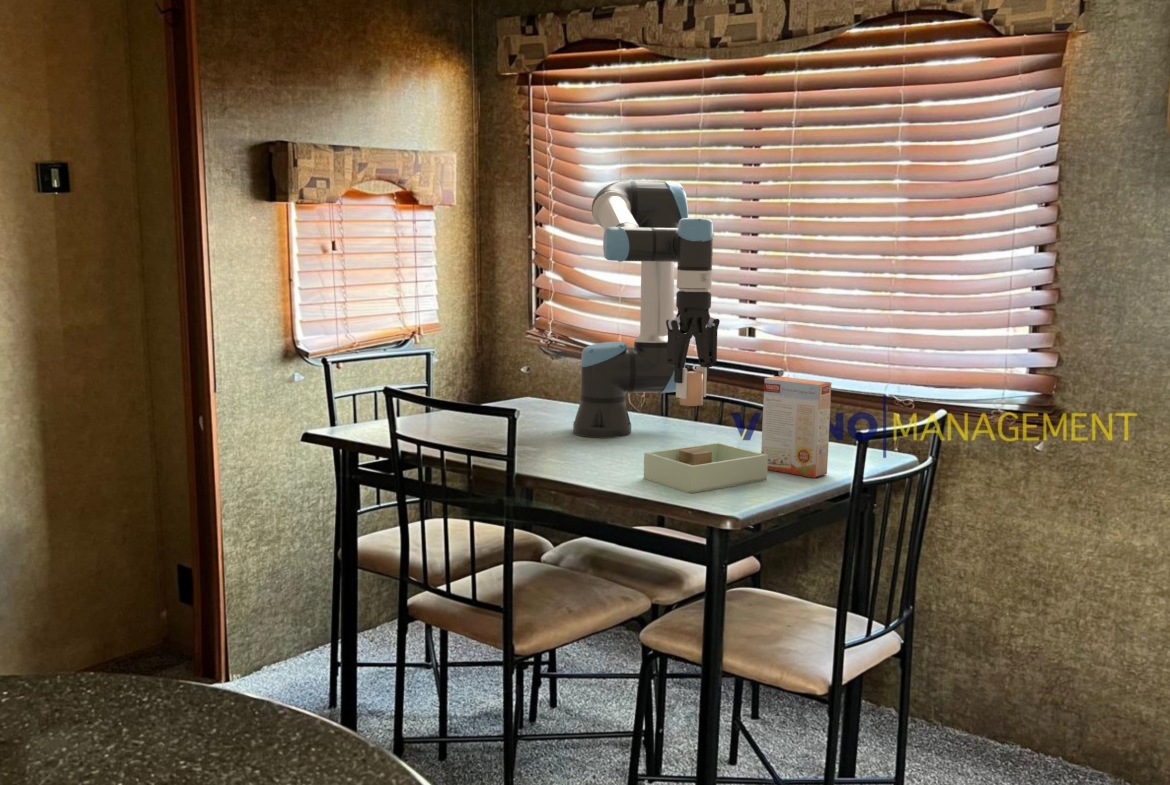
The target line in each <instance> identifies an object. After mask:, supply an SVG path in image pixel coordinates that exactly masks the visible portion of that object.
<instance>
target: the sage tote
mask: <svg viewBox="0 0 1170 785" xmlns="http://www.w3.org/2000/svg"><path fill="white" fill-rule="evenodd" d="M692 448H699V449H703V450H707V451H710V452H712V463H706V464H700V465H689V464H686V463H682V462H679V450H685V449H692ZM643 454H644V455H643V457H644V458H643V479H645V480H648V481H650V482H654V483H658V484H660V485H664V486H667V487H670V488H673V489H676V490H680V491H682V492H686V493H689V494H695V493H702V492H703V493H704V492H710V491H713V490H720V489H724V487H726V488H730V487H729V486H732V487H736V485H737V486H741V485H748V484H753V483H754V482H755V483H759V482H760V483H761V482H764V480H765V482H766V481H768V470H767V465H768V455H766V454H762V453H761V452H758V451H753V450H750V449H747V448H742V447H739V446H734V445H730V444H727V443H723V442H713V443H705V444H697V445H691V446H690V445H689V446H684V447H682V446H681V447H676V448H670V449H662V450H654V451H649V452H648V451H647V452H643ZM755 483H754V484H755ZM719 488H720V489H719Z"/></svg>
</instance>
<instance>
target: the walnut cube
mask: <svg viewBox="0 0 1170 785" xmlns="http://www.w3.org/2000/svg"><path fill="white" fill-rule="evenodd" d="M679 462H682V463H686V464H689V465H700V464H706V463H712V452H710V451H707V450H703V449H699V448H692V449H685V450H679Z"/></svg>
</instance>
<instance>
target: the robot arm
mask: <svg viewBox="0 0 1170 785" xmlns="http://www.w3.org/2000/svg"><path fill="white" fill-rule="evenodd" d="M591 213H592V217H593V219H594V221H595V223H597V225H598V226H600V227H601V228H603V230H604V232H603V240H602V241H603V242H602V243H603V244H602V247H603V248H602V249H603V257H604V259H606V260H607V261H613V262H614V261H615V262H618V263H619V262H620V263H621V262H641V263H640V319H639V320H640V322H639V323H640V324H639V325H640V329H639V331H640V332H639V335H638V336H637V337H636V338H635V339H634V341H633V342H634V343H633V347H628V345H627V343H626V342H625V341H607V342H606V341H605V342H599V343H594V344H590V345H588V346H586V347H584V348H583V349H582V352H581V356H580V357H581V358H580V360H581V361H580V365H579V366H580V401H579V406H578V408H577V412H576V415H575V418H574V420H573V422H572V423H573V426H572V432H573V434H574V435H575V434H576V435H578V436H582V437H589V438H599V439H601V438H605V439H607V438H620V437H626V436H629V435H631V434H632V422H631V420H630V416H629V412H628V408H627V405H626V394H627V393H634V394H636V393H638V394H639V393H643V394H644V393H645V394H646V393H649V394H650V393H654V394H655V393H657V394H664V393H674V392H675V398H679V399H680V398H682V399H686V397H687V371H688V368H686V360H687V357H688V351H689V346H690V343H691V339H692V338H693V337H694V341H695V342H694V343H695V346H696V353H697V359H698V363H699V366H695V371H696V372H703V398H706V397H707V384H708V383H707V382H708V381H709V376H710V375H709V373H710V368H712V367H713V365H714V364H716V363H717V361H718V360H717V359H718V328H719V326H720V319H719V318H714V317H712V316H711V314H710V311H709V309H711V307H712V293H711V291H710V290H711V289H712V283H713V282H712V279H713V278H712V277H713V249H714V248H713V246H714V237H715V233H714V223H713V220H711V219H710V218H700V217H698V218H695V217H693V218H691V217H690V218H688V217H689V206H688V199H687V194H686V191H685V189H684V187H683V185H681V183H679V182H676V181H675V182H674V181H666V180H657V181H656V180H654V181H653V180H650V181H649V180H620V181H615V182H612V183H610V184H608V185H606V186H604V187H602V188H601V189H600V190H599V191H598V192H597V193H596V195H595V196H594V197H593V200H592V203H591ZM675 263H677V268H676V270H677V271H676V289H679V290H678V291H677V292H676V300H675ZM675 301H676V302H675ZM674 303H676V304H674ZM674 305H675V306H676V308H677V313H676V315H675V312H674V311H675V308H674ZM674 315H675V317H674Z"/></svg>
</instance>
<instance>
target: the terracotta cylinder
mask: <svg viewBox="0 0 1170 785" xmlns="http://www.w3.org/2000/svg"><path fill="white" fill-rule="evenodd" d="M703 402H704V397H703V372H696V370H694V371H693V370H692V371H688V370H687V397H686V399H682V398H679V405H680V406H686V407H688V406H690V407H698V406H699V407H700V406H703V404H704V403H703Z"/></svg>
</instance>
